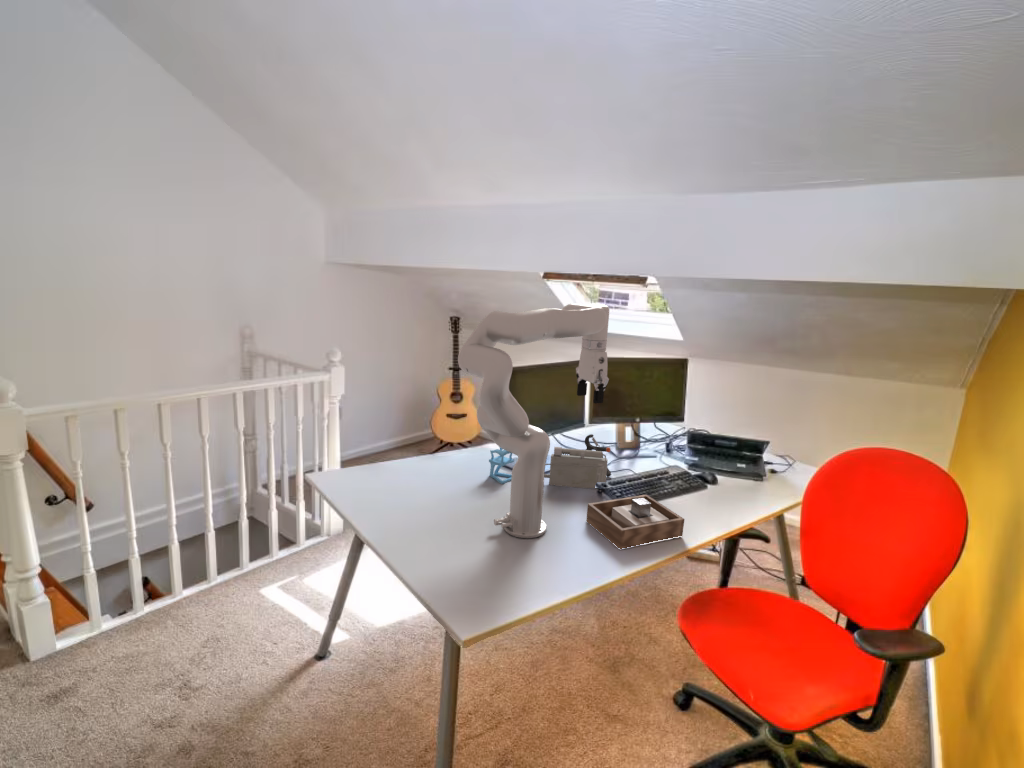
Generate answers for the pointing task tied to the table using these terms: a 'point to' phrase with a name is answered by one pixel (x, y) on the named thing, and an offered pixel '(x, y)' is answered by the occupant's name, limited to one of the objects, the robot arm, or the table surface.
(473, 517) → the table surface
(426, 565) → the table surface
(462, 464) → the table surface
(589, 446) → the hand grip strengthener
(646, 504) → the metal peg
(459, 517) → the table surface
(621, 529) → the walnut box
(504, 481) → the chair
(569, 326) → the robot arm
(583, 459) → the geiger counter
